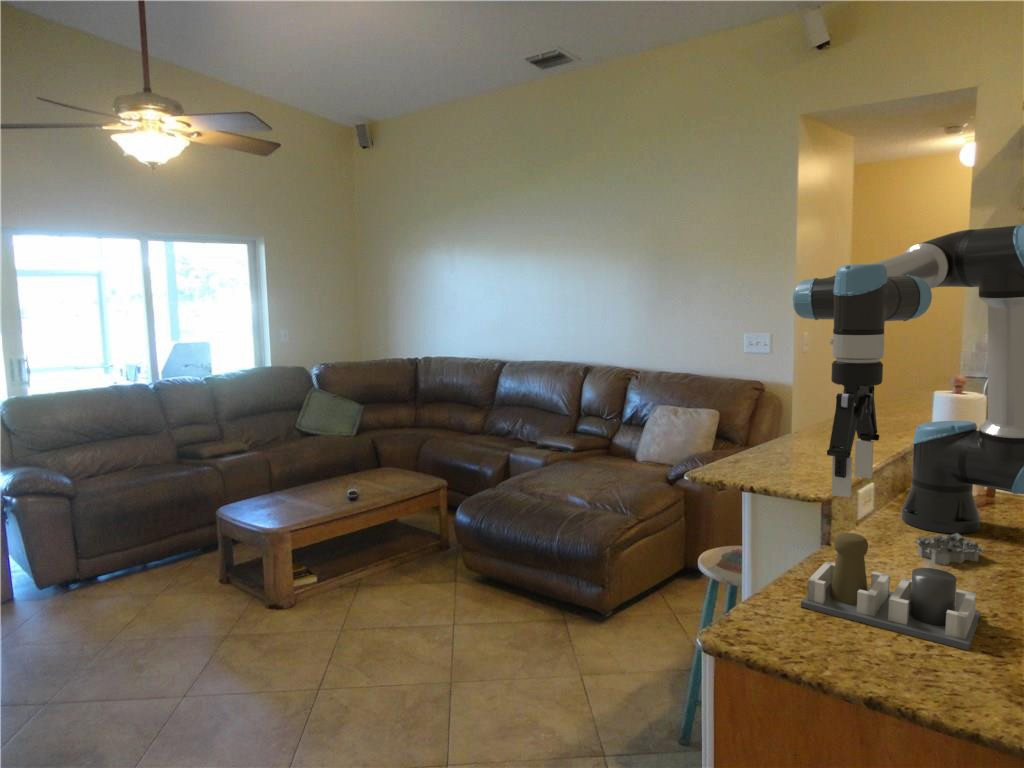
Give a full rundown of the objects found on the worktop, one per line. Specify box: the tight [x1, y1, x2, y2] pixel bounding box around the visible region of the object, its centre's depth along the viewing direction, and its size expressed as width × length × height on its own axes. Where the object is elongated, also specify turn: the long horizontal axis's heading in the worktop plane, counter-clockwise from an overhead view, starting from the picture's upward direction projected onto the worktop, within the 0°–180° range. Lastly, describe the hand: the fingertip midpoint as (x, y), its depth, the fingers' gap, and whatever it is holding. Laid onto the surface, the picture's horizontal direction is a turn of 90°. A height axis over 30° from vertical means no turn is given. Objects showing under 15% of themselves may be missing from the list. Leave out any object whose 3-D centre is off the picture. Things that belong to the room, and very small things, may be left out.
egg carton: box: [913, 533, 985, 566], centre depth 138 cm, size 11×8×4 cm
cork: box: [830, 532, 869, 605], centre depth 119 cm, size 6×6×11 cm
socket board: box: [800, 560, 981, 652], centre depth 115 cm, size 13×24×8 cm, turn 50°
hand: (852, 486), depth 117 cm, fingers open, 13 cm apart
